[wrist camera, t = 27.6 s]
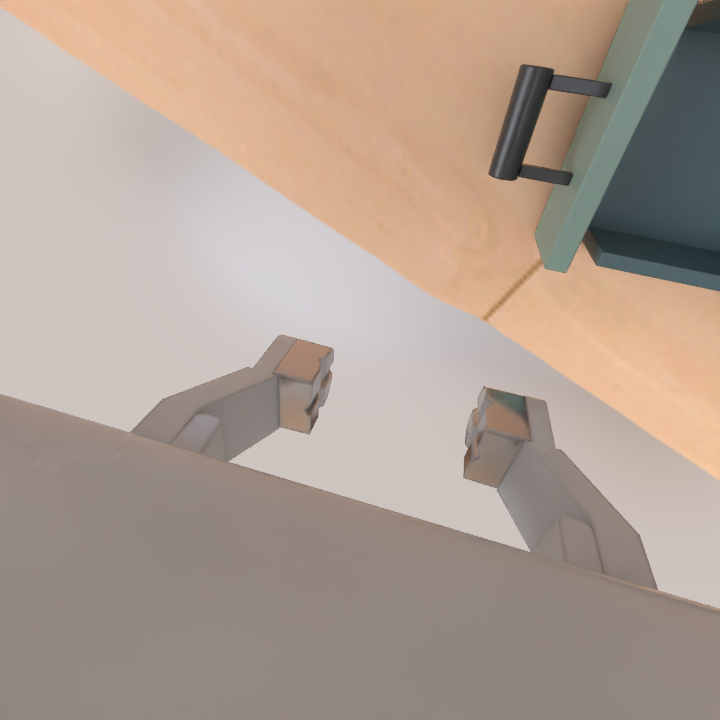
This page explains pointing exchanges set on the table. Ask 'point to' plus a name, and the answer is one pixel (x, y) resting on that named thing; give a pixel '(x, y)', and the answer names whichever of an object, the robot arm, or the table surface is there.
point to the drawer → (633, 149)
